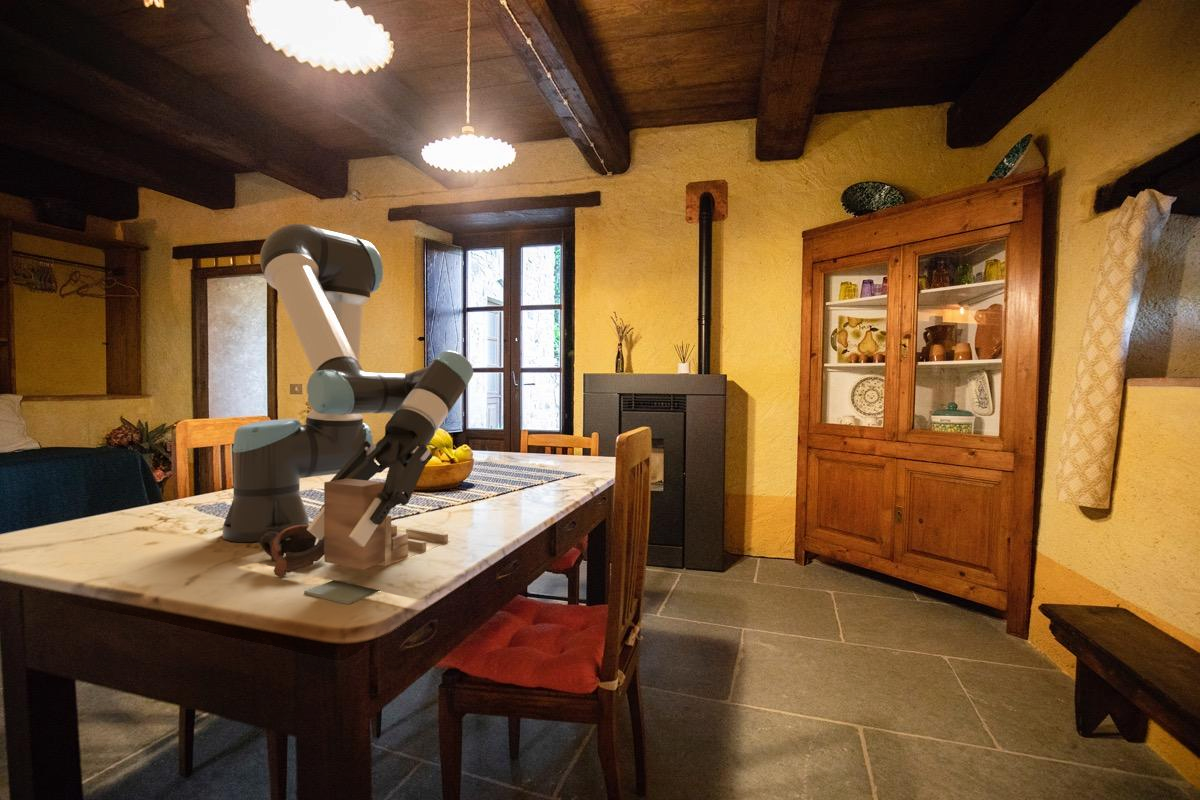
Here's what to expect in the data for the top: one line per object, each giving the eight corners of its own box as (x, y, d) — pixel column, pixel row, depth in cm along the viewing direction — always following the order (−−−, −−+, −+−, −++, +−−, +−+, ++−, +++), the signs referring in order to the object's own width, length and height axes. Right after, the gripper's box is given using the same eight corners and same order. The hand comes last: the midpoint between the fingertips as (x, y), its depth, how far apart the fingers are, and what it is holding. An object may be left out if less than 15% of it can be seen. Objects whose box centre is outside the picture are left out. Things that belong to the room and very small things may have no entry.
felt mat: (355, 574, 85) (355, 572, 85) (397, 583, 81) (397, 580, 81) (304, 593, 77) (304, 590, 77) (347, 604, 73) (347, 601, 73)
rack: (411, 540, 104) (411, 494, 104) (450, 547, 100) (451, 499, 100) (342, 564, 90) (342, 510, 90) (385, 573, 86) (385, 517, 86)
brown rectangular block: (347, 554, 82) (347, 478, 82) (384, 561, 79) (384, 482, 79) (324, 561, 79) (324, 482, 78) (362, 569, 75) (362, 486, 75)
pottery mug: (342, 561, 93) (341, 527, 89) (308, 603, 85) (306, 567, 81) (278, 542, 94) (275, 508, 90) (238, 582, 85) (232, 546, 81)
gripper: (475, 438, 88) (403, 560, 74) (383, 434, 97) (303, 542, 82) (454, 407, 83) (372, 532, 69) (359, 405, 92) (269, 516, 77)
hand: (334, 538), depth 76 cm, fingers closed on brown rectangular block, 8 cm apart
